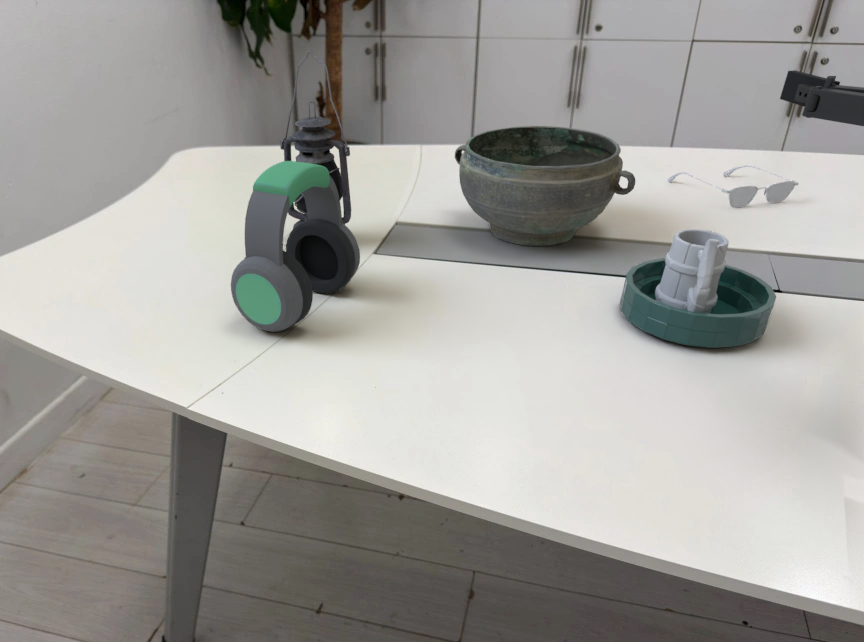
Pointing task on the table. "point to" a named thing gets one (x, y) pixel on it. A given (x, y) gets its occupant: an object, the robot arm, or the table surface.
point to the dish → (724, 327)
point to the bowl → (540, 180)
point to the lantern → (318, 153)
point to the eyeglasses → (753, 190)
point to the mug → (693, 270)
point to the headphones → (292, 247)
